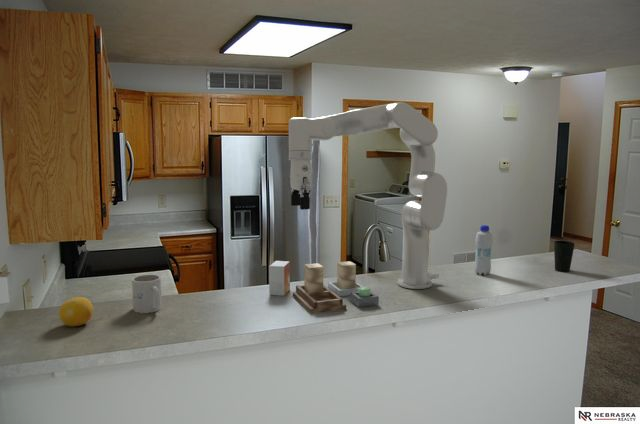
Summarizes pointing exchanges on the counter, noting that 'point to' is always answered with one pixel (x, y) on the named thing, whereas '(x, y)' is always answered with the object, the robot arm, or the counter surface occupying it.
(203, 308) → the counter surface
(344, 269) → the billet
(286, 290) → the small box
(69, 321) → the fruit
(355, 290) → the grey square frame
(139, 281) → the mug
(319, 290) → the block
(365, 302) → the switch box
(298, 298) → the brown wooden tray
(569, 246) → the cup
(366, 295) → the button
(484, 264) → the bottle
